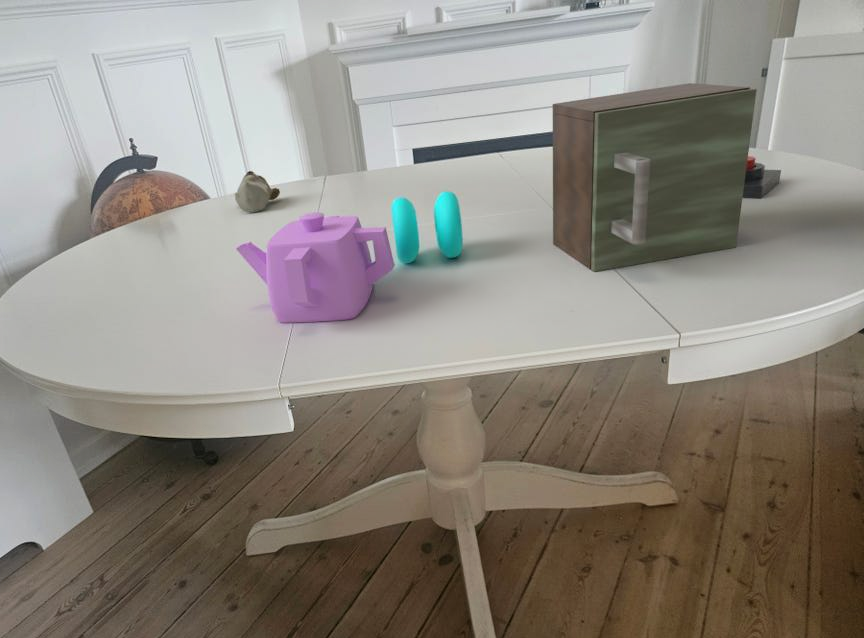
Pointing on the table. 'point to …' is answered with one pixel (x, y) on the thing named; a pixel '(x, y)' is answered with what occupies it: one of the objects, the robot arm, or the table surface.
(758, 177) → the button box
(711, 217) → the cupboard door
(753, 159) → the button
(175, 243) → the table surface
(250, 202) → the ceramic sculpture
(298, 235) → the teakettle
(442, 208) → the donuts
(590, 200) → the cupboard
